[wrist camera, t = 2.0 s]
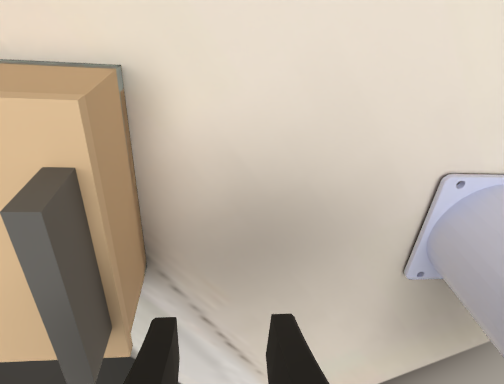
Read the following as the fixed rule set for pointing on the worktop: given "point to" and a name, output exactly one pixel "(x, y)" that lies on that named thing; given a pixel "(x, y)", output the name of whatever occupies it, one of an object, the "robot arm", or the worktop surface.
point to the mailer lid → (56, 240)
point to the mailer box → (98, 151)
